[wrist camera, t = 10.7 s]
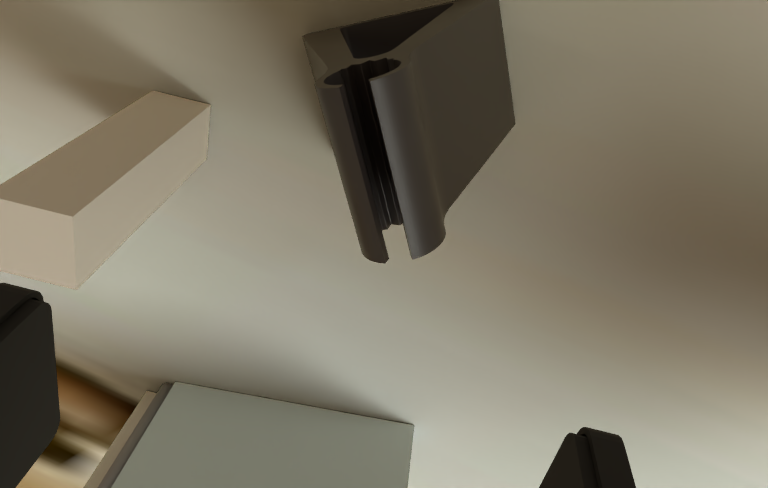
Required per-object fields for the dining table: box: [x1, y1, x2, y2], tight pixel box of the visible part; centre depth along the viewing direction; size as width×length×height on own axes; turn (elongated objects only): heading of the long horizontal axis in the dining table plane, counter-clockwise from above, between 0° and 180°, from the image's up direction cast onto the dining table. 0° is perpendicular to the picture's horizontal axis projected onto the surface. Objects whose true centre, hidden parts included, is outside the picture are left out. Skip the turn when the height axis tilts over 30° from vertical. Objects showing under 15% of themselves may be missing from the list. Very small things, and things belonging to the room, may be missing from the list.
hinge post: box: [84, 391, 157, 488], centre depth 37 cm, size 3×3×12 cm
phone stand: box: [302, 0, 515, 263], centre depth 24 cm, size 9×6×12 cm, turn 102°
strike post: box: [0, 91, 211, 290], centre depth 27 cm, size 3×3×12 cm
